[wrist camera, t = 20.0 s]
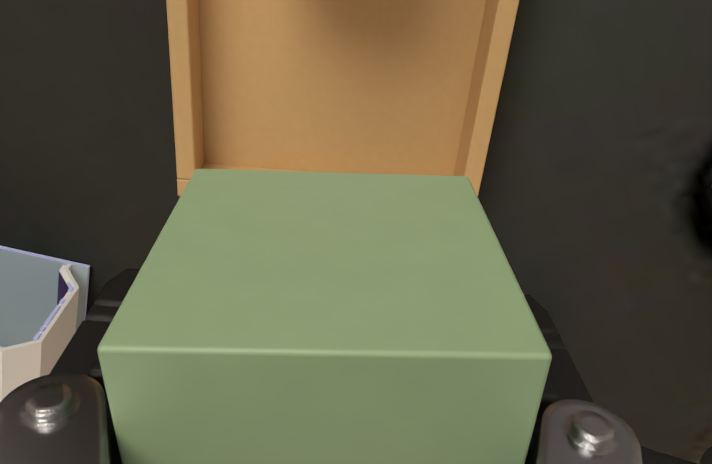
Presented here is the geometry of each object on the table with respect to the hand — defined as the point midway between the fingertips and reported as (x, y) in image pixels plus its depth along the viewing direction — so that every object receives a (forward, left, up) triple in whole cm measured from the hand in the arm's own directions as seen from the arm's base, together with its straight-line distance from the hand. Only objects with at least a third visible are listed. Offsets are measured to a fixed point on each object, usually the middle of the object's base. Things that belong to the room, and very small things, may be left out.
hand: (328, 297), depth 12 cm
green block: (0, 0, 0) cm, 0 cm away
